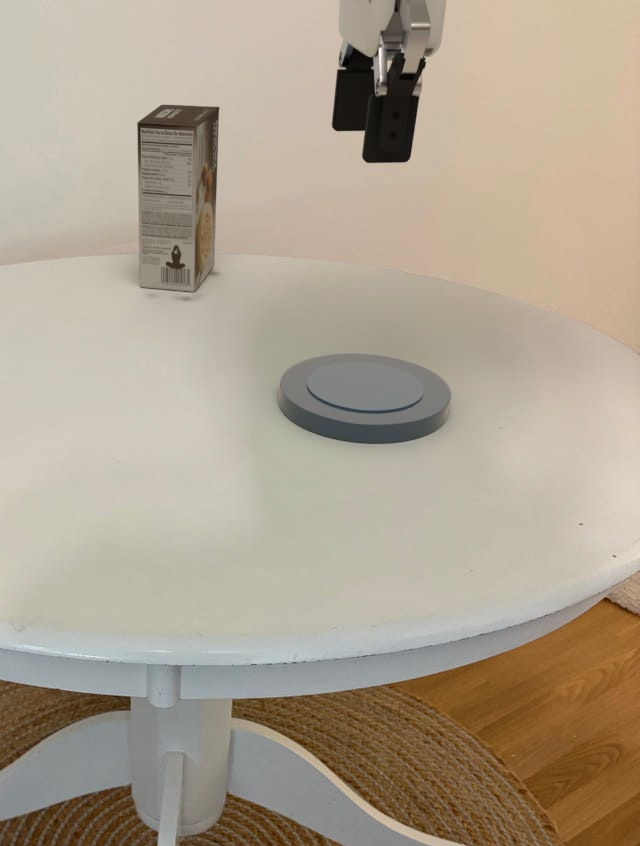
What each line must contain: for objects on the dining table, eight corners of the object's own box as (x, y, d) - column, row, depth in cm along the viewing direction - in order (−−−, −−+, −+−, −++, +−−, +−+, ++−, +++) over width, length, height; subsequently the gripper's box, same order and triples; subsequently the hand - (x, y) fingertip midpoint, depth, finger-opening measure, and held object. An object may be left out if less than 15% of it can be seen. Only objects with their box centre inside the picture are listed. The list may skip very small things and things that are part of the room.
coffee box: (160, 261, 112) (160, 102, 102) (215, 266, 110) (221, 105, 100) (137, 288, 105) (135, 120, 95) (196, 293, 104) (200, 124, 94)
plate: (474, 396, 84) (478, 377, 83) (403, 460, 75) (406, 439, 74) (328, 358, 90) (330, 339, 89) (246, 412, 81) (248, 392, 80)
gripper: (517, -167, 53) (457, 175, 64) (426, -163, 67) (389, 119, 77) (380, -168, 53) (342, 177, 63) (316, -163, 66) (294, 120, 77)
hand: (368, 145), depth 70 cm, fingers open, 9 cm apart
